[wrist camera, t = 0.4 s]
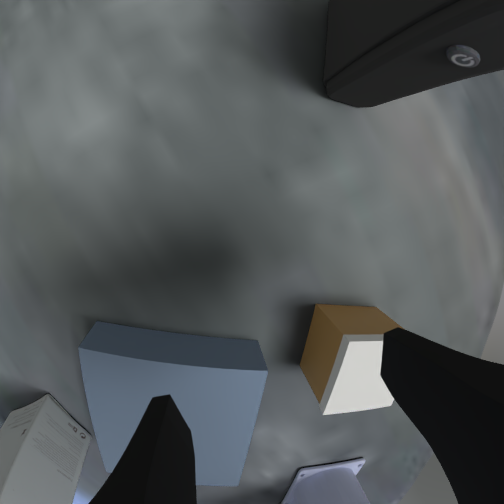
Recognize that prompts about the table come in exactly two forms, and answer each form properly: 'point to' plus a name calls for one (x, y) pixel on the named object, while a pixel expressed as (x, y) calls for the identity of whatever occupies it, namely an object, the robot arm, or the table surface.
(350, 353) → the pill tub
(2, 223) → the table surface
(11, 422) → the skincare box
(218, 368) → the box
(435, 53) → the card reader
